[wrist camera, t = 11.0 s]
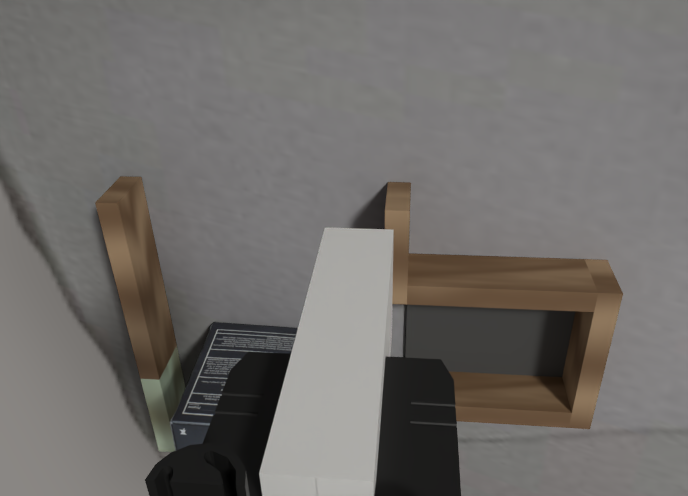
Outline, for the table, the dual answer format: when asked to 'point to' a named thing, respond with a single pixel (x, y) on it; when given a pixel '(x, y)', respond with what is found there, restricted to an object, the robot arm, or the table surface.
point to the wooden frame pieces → (408, 288)
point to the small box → (221, 373)
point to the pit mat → (490, 339)
